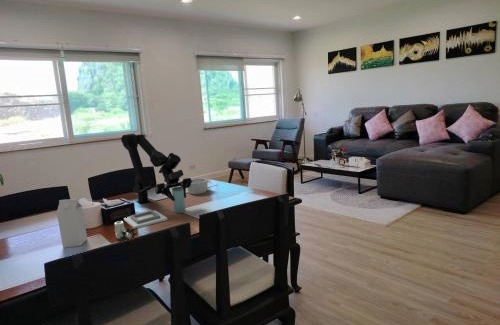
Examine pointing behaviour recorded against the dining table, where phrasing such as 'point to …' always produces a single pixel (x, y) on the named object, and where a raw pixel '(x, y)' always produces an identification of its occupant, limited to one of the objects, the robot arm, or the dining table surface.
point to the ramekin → (198, 186)
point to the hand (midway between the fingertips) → (179, 199)
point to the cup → (178, 199)
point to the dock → (145, 219)
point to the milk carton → (71, 223)
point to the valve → (123, 231)
